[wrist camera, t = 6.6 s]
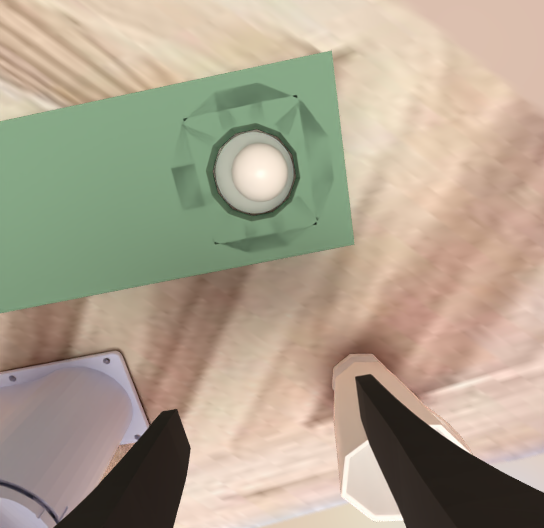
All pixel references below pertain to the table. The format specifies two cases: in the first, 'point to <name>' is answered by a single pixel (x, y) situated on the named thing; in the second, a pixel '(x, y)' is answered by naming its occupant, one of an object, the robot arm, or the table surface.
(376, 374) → the cup
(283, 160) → the ball
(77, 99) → the table surface
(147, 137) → the putting strip
